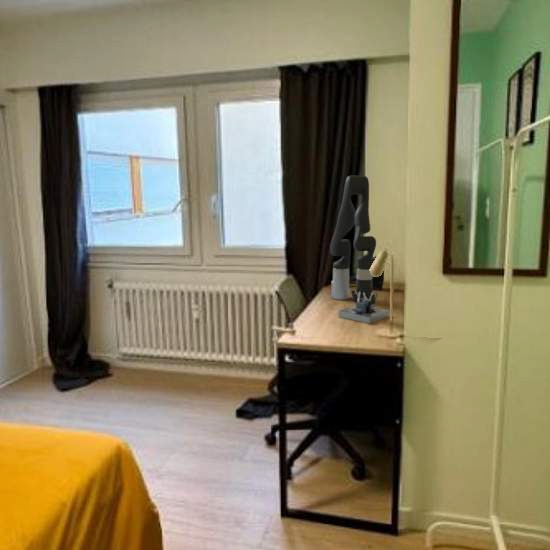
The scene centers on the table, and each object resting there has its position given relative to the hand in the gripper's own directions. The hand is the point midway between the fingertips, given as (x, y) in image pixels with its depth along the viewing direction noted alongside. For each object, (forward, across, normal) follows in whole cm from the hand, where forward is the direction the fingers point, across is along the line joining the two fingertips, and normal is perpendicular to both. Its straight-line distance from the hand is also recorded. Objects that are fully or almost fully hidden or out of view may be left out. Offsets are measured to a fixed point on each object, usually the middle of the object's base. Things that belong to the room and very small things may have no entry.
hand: (363, 312), depth 244 cm
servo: (+1, 0, 0) cm, 1 cm away
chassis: (+2, 0, 0) cm, 2 cm away
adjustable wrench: (+3, +44, -56) cm, 71 cm away
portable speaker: (+2, +30, -56) cm, 64 cm away
